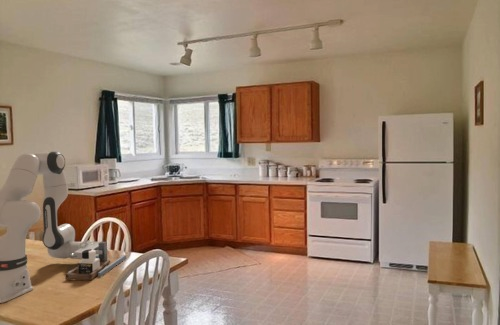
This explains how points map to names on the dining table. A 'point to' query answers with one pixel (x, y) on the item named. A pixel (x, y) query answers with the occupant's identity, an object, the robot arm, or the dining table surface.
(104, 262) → the brown tray fixture
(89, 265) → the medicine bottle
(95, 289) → the dining table surface
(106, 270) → the guide rails
